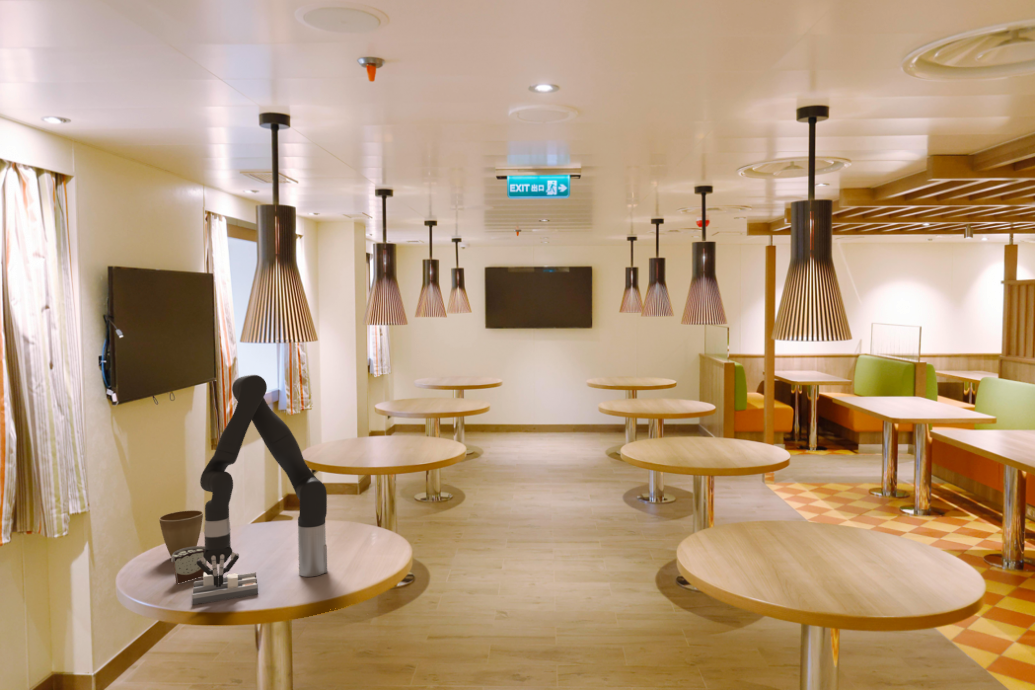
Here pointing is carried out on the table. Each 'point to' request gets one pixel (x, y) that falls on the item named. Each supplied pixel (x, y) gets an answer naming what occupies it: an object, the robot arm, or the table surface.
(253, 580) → the switch panel
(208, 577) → the far tab
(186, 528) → the plant pot
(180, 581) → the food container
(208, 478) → the robot arm
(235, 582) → the near tab
